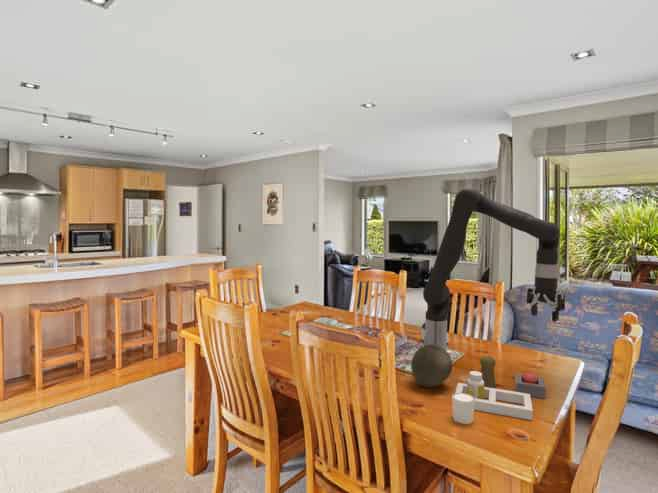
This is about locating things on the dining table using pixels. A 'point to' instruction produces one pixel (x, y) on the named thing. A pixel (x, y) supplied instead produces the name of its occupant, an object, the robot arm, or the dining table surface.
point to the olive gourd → (488, 371)
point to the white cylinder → (463, 407)
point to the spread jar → (424, 333)
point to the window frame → (502, 408)
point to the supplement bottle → (475, 385)
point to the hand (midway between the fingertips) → (544, 318)
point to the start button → (530, 378)
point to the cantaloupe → (431, 365)
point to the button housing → (530, 387)
